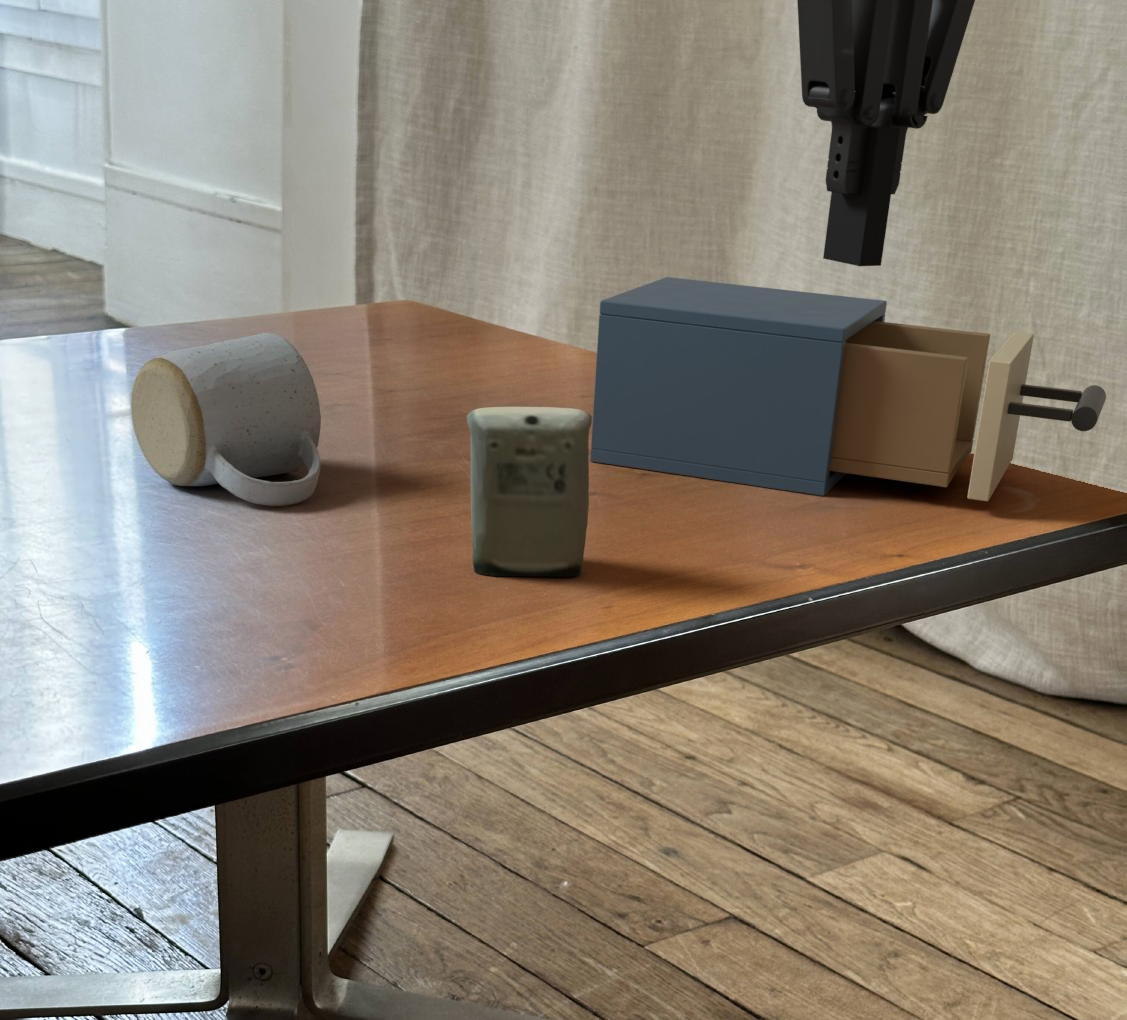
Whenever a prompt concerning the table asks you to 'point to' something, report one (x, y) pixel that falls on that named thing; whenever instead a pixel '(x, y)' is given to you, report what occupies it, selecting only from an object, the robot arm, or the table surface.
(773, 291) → the cabinet
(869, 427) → the drawer
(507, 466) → the grey electronic device
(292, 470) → the ceramic mug
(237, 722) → the table surface
